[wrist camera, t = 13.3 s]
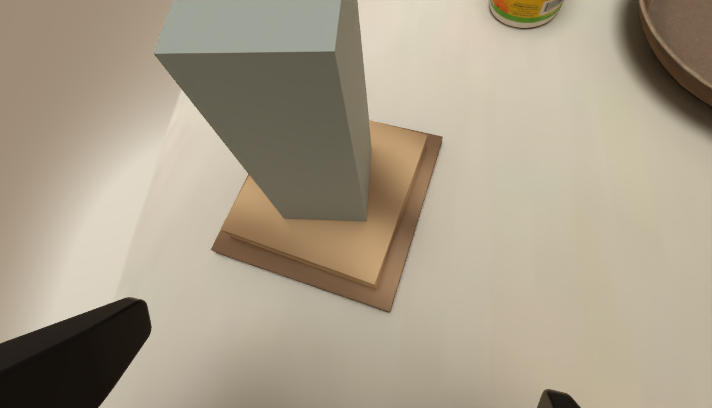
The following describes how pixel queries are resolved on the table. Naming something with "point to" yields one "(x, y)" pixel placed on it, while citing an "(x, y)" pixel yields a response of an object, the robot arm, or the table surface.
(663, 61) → the plant saucer
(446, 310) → the table surface
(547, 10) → the supplement bottle
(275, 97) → the slate block
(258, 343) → the table surface
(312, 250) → the oak top slab
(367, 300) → the walnut base slab
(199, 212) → the table surface
